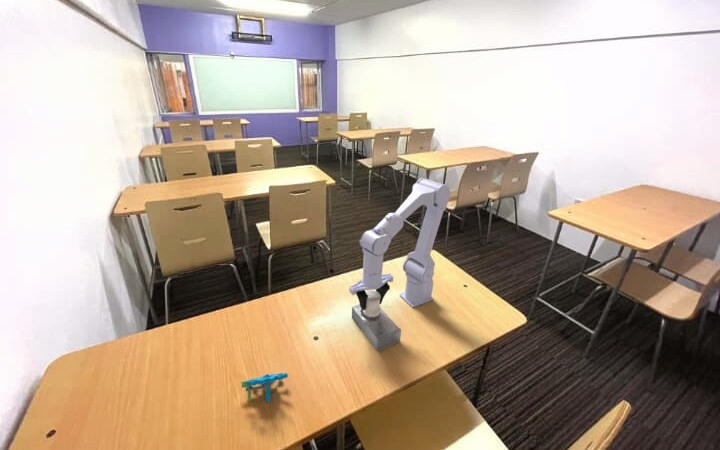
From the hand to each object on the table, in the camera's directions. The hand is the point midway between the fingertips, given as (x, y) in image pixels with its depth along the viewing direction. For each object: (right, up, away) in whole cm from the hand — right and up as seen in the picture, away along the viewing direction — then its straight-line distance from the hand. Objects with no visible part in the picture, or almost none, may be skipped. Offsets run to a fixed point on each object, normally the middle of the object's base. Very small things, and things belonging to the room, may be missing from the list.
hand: (370, 305), depth 95 cm
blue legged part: (-27, -17, -19) cm, 37 cm away
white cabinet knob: (0, -2, +1) cm, 2 cm away
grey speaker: (+1, -8, +1) cm, 8 cm away
